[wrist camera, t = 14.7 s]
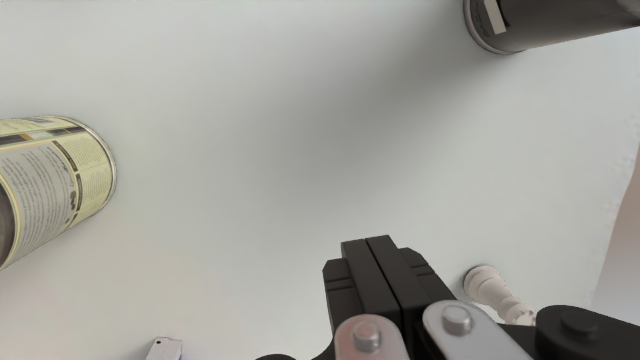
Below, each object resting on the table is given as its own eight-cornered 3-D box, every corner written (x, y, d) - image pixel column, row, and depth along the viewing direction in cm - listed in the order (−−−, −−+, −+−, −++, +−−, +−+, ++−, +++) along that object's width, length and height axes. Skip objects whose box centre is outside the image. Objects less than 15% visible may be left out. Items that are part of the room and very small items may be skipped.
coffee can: (39, 236, 33) (-132, 333, 19) (-25, 138, 30) (-274, 170, 17) (138, 199, 33) (38, 267, 20) (83, 98, 31) (-75, 96, 17)
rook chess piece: (459, 298, 40) (502, 345, 32) (463, 264, 39) (508, 304, 31) (494, 296, 41) (545, 342, 33) (499, 262, 40) (552, 301, 32)
